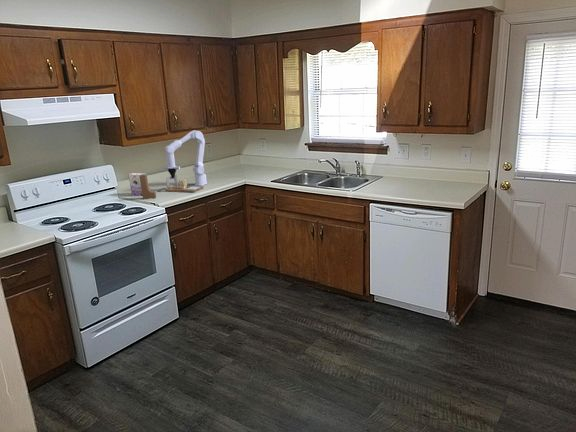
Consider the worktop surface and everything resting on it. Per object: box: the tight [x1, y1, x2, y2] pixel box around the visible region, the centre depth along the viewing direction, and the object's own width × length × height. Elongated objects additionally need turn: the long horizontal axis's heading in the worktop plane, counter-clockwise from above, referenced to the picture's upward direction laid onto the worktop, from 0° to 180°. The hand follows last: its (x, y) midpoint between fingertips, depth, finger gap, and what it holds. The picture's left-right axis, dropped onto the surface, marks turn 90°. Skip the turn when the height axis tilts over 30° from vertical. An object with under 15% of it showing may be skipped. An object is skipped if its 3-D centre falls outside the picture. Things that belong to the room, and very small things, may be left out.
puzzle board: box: [164, 185, 204, 194], centre depth 358 cm, size 14×27×2 cm, turn 68°
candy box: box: [128, 172, 144, 196], centre depth 350 cm, size 14×6×16 cm, turn 59°
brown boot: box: [139, 173, 157, 200], centre depth 336 cm, size 9×4×18 cm, turn 95°
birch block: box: [178, 178, 188, 189], centre depth 357 cm, size 4×4×8 cm
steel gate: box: [165, 174, 179, 189], centre depth 360 cm, size 12×2×9 cm, turn 158°
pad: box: [186, 187, 200, 190], centre depth 354 cm, size 8×8×1 cm
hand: (173, 178), depth 358 cm, fingers closed
